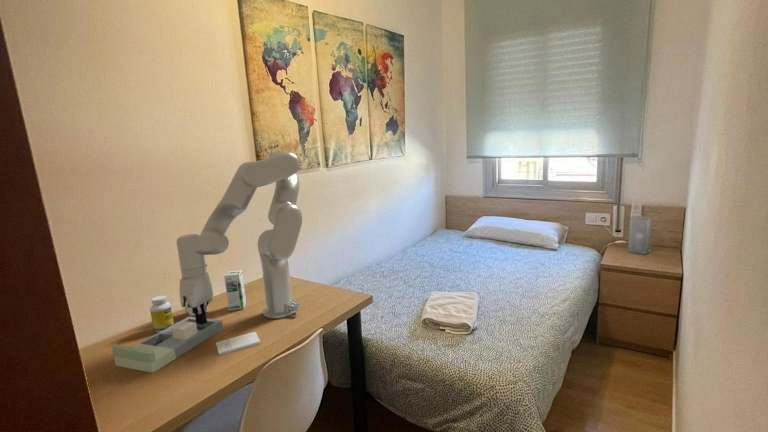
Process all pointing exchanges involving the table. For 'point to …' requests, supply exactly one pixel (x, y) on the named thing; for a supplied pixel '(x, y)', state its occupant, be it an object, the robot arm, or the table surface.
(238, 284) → the syrup box
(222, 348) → the external hard drive
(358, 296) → the table surface
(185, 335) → the block
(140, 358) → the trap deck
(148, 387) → the table surface
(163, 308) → the pill bottle
